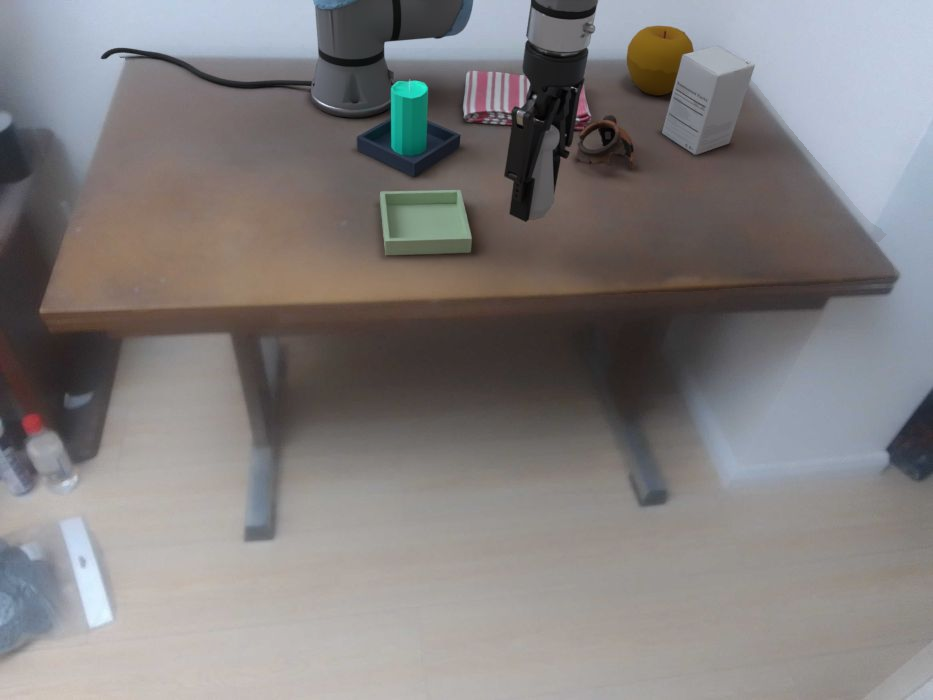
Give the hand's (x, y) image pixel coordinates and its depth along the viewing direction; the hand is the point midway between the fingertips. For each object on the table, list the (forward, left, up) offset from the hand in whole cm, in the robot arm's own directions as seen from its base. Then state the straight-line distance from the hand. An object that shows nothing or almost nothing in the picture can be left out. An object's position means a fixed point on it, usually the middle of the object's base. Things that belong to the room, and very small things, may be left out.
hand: (531, 206), depth 106 cm
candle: (-31, +11, -8) cm, 33 cm away
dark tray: (-31, +11, -8) cm, 34 cm away
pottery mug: (-4, +31, -8) cm, 32 cm away
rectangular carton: (+5, +49, -8) cm, 50 cm away
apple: (-10, +62, -8) cm, 63 cm away
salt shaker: (0, 0, -1) cm, 1 cm away
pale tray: (-15, -5, -8) cm, 18 cm away
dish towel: (-25, +38, -8) cm, 46 cm away
